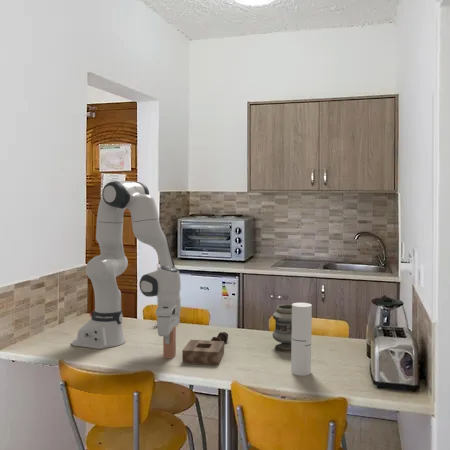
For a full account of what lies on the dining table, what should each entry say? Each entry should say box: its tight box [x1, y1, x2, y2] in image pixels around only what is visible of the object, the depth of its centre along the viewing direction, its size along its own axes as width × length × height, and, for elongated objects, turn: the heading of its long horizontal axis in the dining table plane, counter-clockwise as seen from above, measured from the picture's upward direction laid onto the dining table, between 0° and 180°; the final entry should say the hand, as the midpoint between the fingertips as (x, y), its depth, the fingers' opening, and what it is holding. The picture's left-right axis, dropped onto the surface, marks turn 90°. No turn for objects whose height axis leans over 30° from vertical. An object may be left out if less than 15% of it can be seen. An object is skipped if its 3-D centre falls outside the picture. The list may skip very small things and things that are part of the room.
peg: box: [162, 326, 177, 359], centre depth 197 cm, size 4×4×12 cm
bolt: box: [210, 331, 229, 344], centre depth 213 cm, size 6×5×15 cm
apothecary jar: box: [272, 303, 292, 353], centre depth 208 cm, size 12×12×18 cm
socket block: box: [181, 339, 225, 366], centre depth 195 cm, size 14×14×5 cm
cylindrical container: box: [290, 302, 313, 377], centre depth 180 cm, size 7×7×25 cm
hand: (169, 341), depth 197 cm, fingers closed on peg, 4 cm apart
